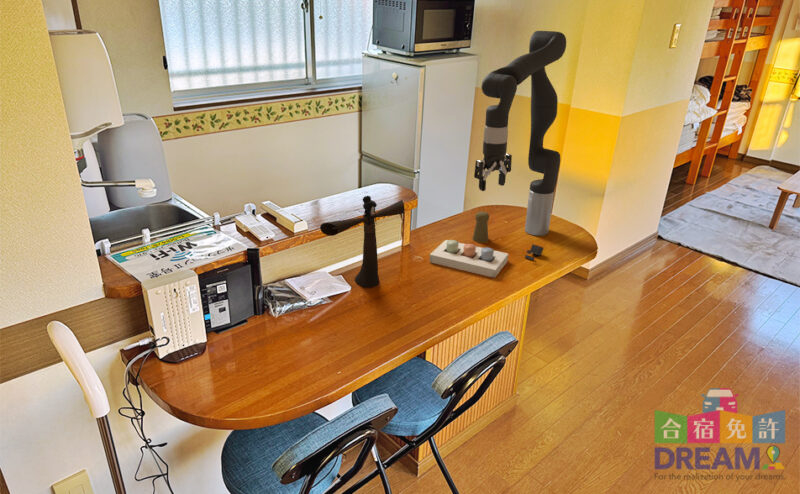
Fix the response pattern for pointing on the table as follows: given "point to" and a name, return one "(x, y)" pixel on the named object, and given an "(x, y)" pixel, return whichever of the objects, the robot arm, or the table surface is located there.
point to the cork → (481, 227)
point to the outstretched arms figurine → (365, 237)
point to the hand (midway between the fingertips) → (491, 187)
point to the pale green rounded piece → (452, 246)
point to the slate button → (487, 254)
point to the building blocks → (534, 251)
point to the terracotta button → (469, 250)
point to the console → (469, 260)
